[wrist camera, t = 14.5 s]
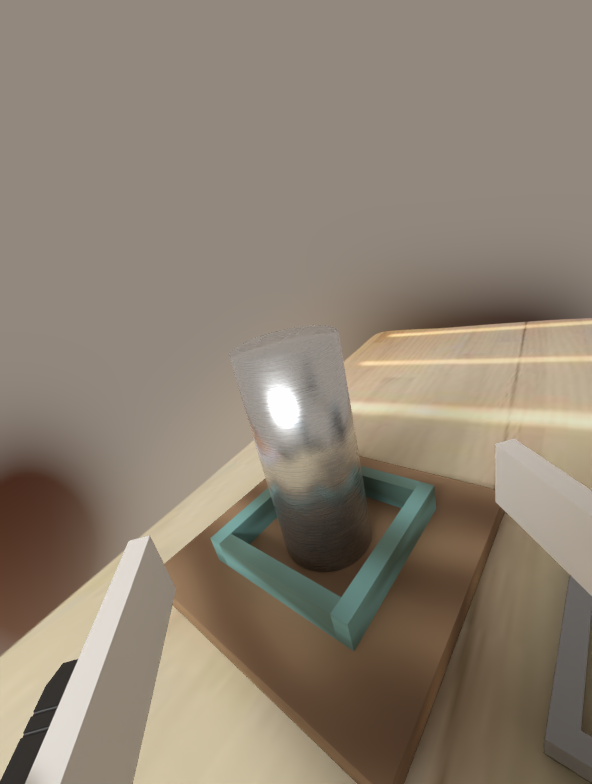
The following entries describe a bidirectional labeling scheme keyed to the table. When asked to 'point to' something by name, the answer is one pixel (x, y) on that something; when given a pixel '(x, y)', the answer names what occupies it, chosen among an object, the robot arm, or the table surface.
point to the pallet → (346, 611)
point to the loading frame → (571, 687)
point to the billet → (306, 443)
